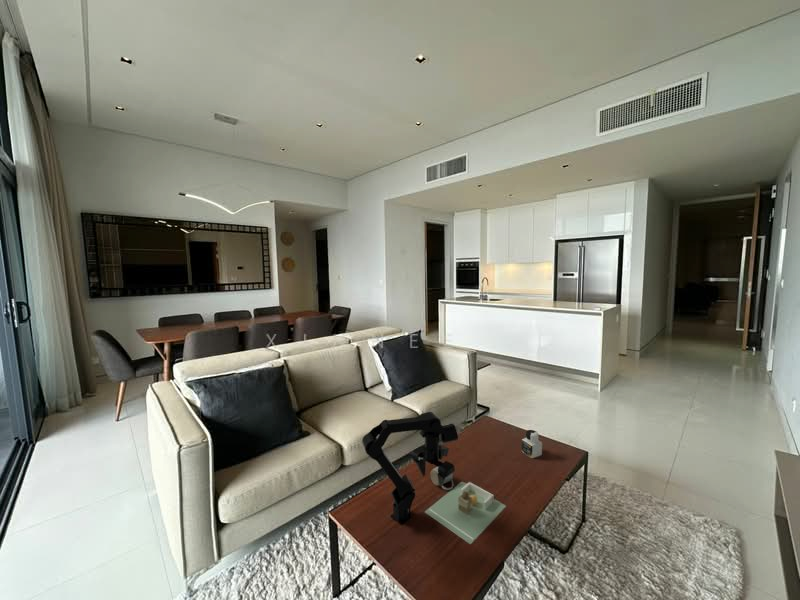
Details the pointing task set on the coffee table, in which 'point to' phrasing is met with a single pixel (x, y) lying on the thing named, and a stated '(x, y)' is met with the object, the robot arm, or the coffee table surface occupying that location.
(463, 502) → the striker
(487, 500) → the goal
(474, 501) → the ball
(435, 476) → the ceramic mug
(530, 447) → the medicine bottle
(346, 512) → the coffee table surface
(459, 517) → the pitch mat
